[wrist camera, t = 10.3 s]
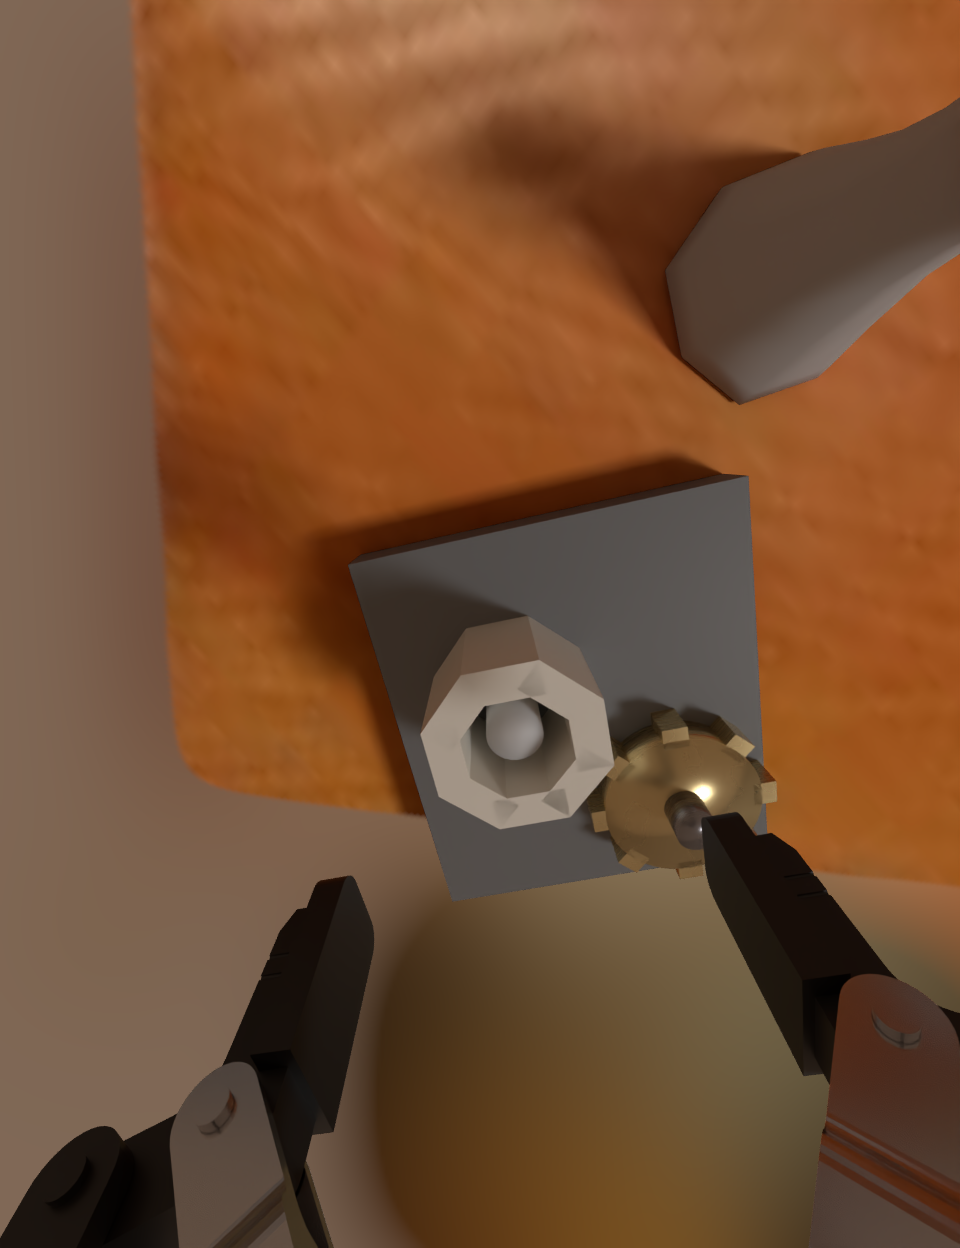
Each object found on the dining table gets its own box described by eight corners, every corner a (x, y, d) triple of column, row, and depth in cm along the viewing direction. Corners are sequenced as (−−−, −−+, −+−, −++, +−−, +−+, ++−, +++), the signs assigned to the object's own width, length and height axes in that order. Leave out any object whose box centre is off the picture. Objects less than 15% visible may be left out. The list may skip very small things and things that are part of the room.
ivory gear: (423, 637, 20) (405, 686, 16) (572, 606, 20) (596, 648, 15) (457, 763, 22) (450, 837, 18) (594, 738, 22) (621, 808, 17)
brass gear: (572, 727, 21) (586, 769, 18) (753, 693, 21) (796, 731, 18) (598, 864, 24) (614, 921, 21) (761, 838, 23) (800, 892, 20)
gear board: (360, 555, 21) (319, 588, 16) (723, 473, 20) (807, 480, 15) (454, 869, 26) (447, 971, 21) (746, 820, 25) (814, 915, 20)
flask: (627, 267, 18) (787, 55, 8) (817, 108, 16) (1274, -368, 7) (725, 440, 20) (950, 428, 10) (905, 311, 18) (1365, 156, 9)
